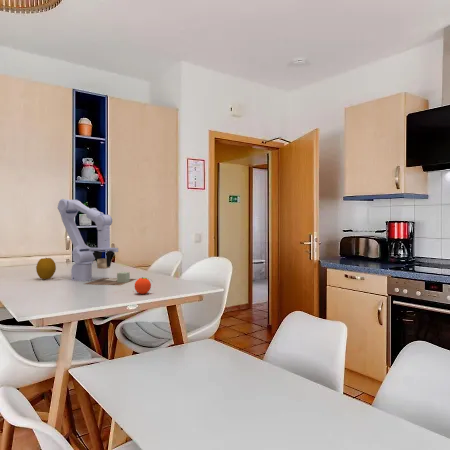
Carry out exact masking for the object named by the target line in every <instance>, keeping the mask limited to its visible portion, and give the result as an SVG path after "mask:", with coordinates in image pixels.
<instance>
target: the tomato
mask: <svg viewBox="0 0 450 450" xmlns="http://www.w3.org/2000/svg"><path fill="white" fill-rule="evenodd" d="M151 282H152V283H154V282H153V280H151V281H150V278H148V277H140V278H139V277H138V278H137V279H136V281H135V283H134V289H135V291H136V292H137V293H138V294H139V295H140V294H141V295H145V294H147V293H149V292H150V291H151V288H152V283H151Z"/></svg>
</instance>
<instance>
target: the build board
mask: <svg viewBox="0 0 450 450" xmlns="http://www.w3.org/2000/svg"><path fill="white" fill-rule="evenodd" d="M135 280H136V281H137V278H130V281H129V282H126V283H120V282H117V277H115V278H114V277H113V278H112V277H101V278H98V279H95V280H93V281H92V280H91V281H88V282H86V283H84V285H94V286H97V285H98V286H122V285H125V284H127V283H131V282H134V281H135Z"/></svg>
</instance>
